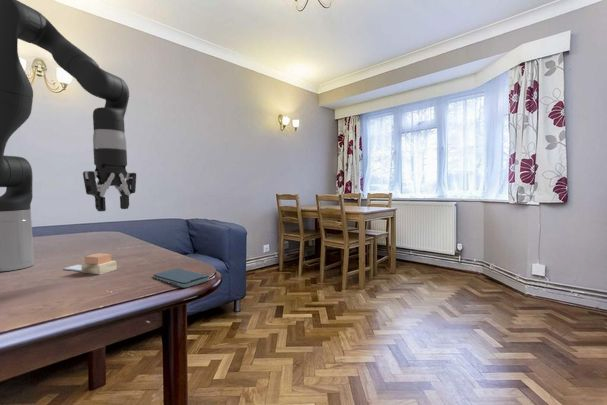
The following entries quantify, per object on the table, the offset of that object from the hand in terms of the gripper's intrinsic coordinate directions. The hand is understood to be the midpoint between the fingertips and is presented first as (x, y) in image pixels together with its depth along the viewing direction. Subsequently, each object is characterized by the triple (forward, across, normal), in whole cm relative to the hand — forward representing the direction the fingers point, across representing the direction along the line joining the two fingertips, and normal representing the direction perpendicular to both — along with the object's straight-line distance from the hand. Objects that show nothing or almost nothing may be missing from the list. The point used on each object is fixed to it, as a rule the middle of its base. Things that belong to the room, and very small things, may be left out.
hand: (113, 209), depth 80 cm
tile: (+15, 0, -7) cm, 17 cm away
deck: (+18, 0, -6) cm, 19 cm away
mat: (+18, 0, -14) cm, 23 cm away
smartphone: (+18, -1, +21) cm, 28 cm away
